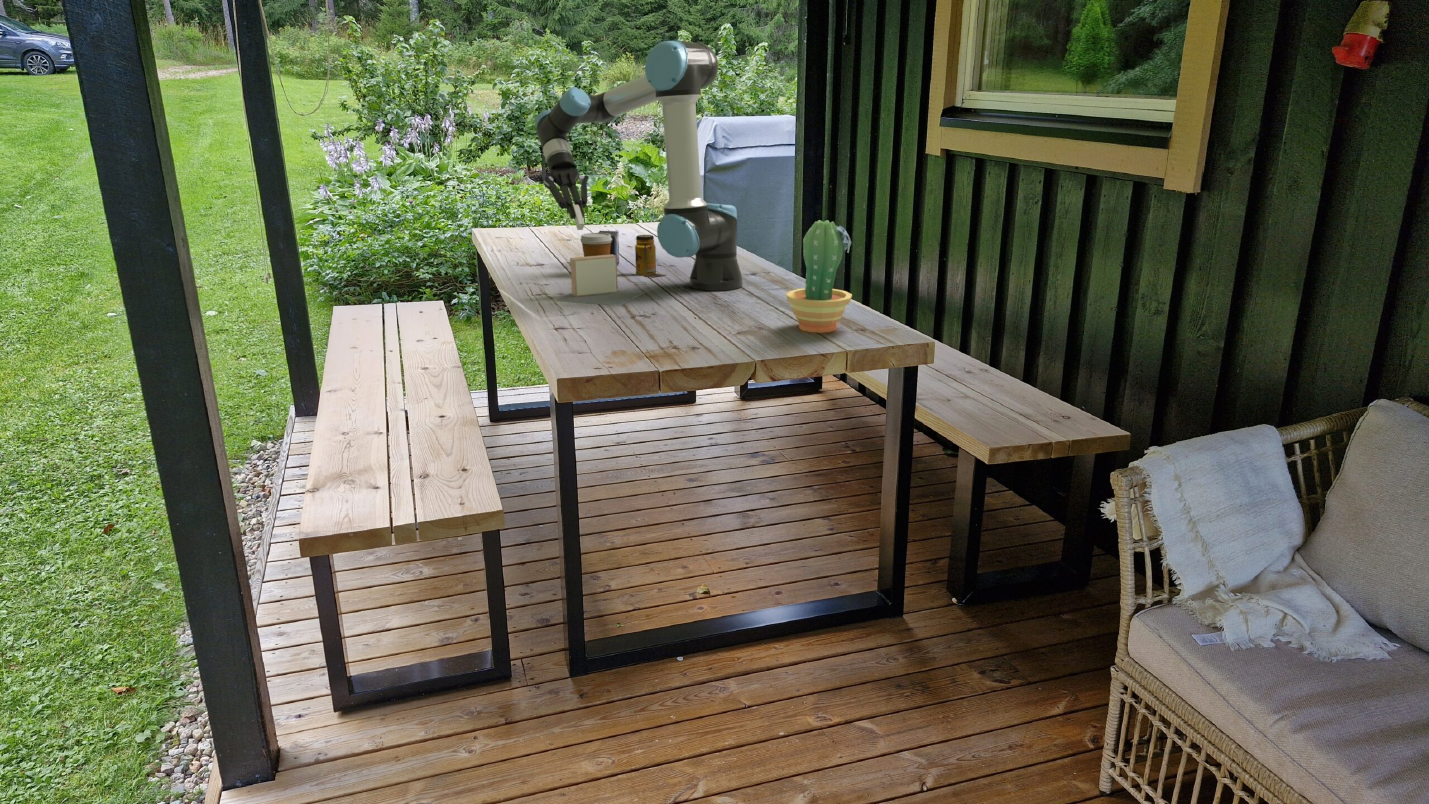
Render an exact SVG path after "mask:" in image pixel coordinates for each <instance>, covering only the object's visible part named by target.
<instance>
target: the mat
mask: <svg viewBox="0 0 1429 804" xmlns="http://www.w3.org/2000/svg"><path fill="white" fill-rule="evenodd" d="M646 293H647V292H646V291H633V290H632V291H631V290H619V289H618V293H610V294H600V295H590V296H581V297H575V296H573V295H572V292H571V293H568V294H566V295H564V296H562V297H559V298H557V299H555V300H554V302H566V303H577V304H578V303H580V304H590V305H591V304H592V305H604V306H614V307H616V306H617V307H618V306H619V307H622V306H624V305H625V304H628V303H629V302H631V301H632V300H635V299H637V298H638V297H641V296H642V295H644V294H646Z"/></svg>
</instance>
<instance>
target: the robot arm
mask: <svg viewBox="0 0 1429 804" xmlns="http://www.w3.org/2000/svg"><path fill="white" fill-rule="evenodd" d="M644 73H645V75H642V76H639V77H637V78H634V79H632V80H629V81H627V82H624V83H622V84H620V85H617V86H615V87H612V88H610V89H608V90H606V91H603V92H600V93H598V94H595V95H593V94H590V95H588V94H587V93H586V92H585V91H584V90H583V89H581V88H580V89H579V88H578V87H575V86H574V87H569V88H568V89H567V90H566V92H564V93H563V94H562V95H561V97H560V98H559V99H558V101H557V102H556V104H555V105H554V106H553V108H552V109H547V110H543V111H541V112H540V113H538V114H537V115H536V116H535V120H534V124H535V125H534V126H535V131H536V135H537V137H538V139H539V142H540V146H541V148H542V152H543V155H544V158H545V161H546V164H547V165H546V166H547V169H548V171H549V176H545V177H544V180H543V185H544V186H545V188H546V189H548V190H549V192H550V193H551V195H552V197H553V198H554V200H555V202H556V204H557V205H558V207H559V208H560V210H564V209H566V212H567V213H568V214H569V217H570V219H571V220H574V224H575V227H576V230H577V231H583V230H584V227H585V223H586V222H585V220H584V218H585V214H586V213H585V210H584V209H585V208H586V206H587V203H588V181H589V178H590V177H589V176H588V174H587V175H585V174H584V176H583V175H581V174H580V172H579V170H577V166H576V163H575V160H574V157H573V154H572V151H571V148H570V145H569V142H568V138H567V135H568V134H569V133H570V132H571V131H572V130H573V129H574V128H575V126H577V125H578V124H589V123H590V124H591V123H603V124H604V123H609V122H614V121H616V120H617V119H618V117H619V116H621V115H624V114H626V113H629V112H632V111H634V110H637V109H639V108H642V107H645V106H647V105H649V104H650V105H651V104H652V103H655V102H659V103H660V104H661V107H662V118H663V119H662V120H663V132H664V133H663V135H664V147H665V162H666V171H667V172H666V174H667V189H668V201H666V203H665V204H664V205H663V214H664V216H663V217H661V219H660V221H659V223H657V228H656V235H657V239H658V242H659V244H660V246H661V247H662V250H664V251H665V252H666V253H667V254H668V255H670V256H671V257H675V258H680V259H681V258H692V257H693V256H694V257H695V259H694V263H693V266H692V268H691V272H690V276H689V287H690V288H693V289H696V290H703V291H711V292H712V291H716V292H717V291H731V290H737V289H740V288H742V287H743V280H744V279H743V275H742V274H743V273H742V271H741V269H740V265H739V263H738V258H737V249H738V248H737V245H738V241H737V239H738V238H737V237H738V235H737V234H738V230H737V229H738V215H737V214H738V211H737V207H736V206H734V205H731V204H722V203H721V204H719V203H708V202H706V201H705V200H704V199H703V198H702V187H701V171H700V155H699V154H700V153H699V142H698V141H699V140H698V139H699V137H698V123H697V122H698V121H697V119H698V118H697V108H696V106H697V105H696V104H697V101H698V100H699V99H700V98H701V97H702V93H701V91H702V89H706V88H707V87H709V86H710V85H712V84H713V82H714V81H715V80H716V77H717V75H718V73H719V61H718V57H717V55H716V53H715V52H714V50H713V49H712V48H711V47H710V46H708V45H707V44H705V43H702V42H698V41H697V42H696V41H694V42H693V41H684V40H682V41H681V40H667V41H666V40H665V41H664V40H663V41H660V42H658V43H656V45H654V46H653V47H652V49H651V50H650V52H648V54H647V56H646V59H645V64H644ZM578 181H579V184H580V193H579V190H578V188H577V187H578V186H577V183H578ZM557 186H558V187H559V188H558V187H557Z"/></svg>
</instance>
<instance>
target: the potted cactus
mask: <svg viewBox="0 0 1429 804" xmlns="http://www.w3.org/2000/svg"><path fill="white" fill-rule="evenodd" d="M802 244H803V245H802V246H803V248H802V250H803V251H802V252H803V255H802V256H803V260H804V263H805V268H806V272H805V287H804V288H797V289H794V290H793V289H792V290H789V291H788V292H787V293H786V295H785V296H786V300H787V301H786V302H788V303H789V304H790V306H791V310H792V312H793V315H794V317H795V318H796V320H797V321H798V323H799V325H798V329H800V330H801V331H803V332H809V333H820V334H821V333H831V332H834V331H837V329H838V324H837V323H838V322H840V320H841V318H842V317H843V315H844V312H845V311H846V308H847V306H848V305H849V304H850V303H851V301H852V297H853V294H852V293H850V292H848V291H846V290H841V289H835V288H834V283H835V279H836V275H837V270H838V267H839V265H840V263H841V262H842V259H843V253H844V251H845V250H847V251H846V252H847V253H848V254H849V253H850V247H851V245H852V241H851V237H850V235H849V234H848V232H847V230H846V229H845V228H844V227H843V226H841V225H839V226H838V225H836V224H835V221H831V222H830V221H829V220H827V219H826V220H825V221H822V220H820V219H819V220H817V221H814V223H813V224H812V225H811V227H809V229H808V231H807V232H806V233H805V235H804V237H803V239H802Z"/></svg>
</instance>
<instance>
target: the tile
mask: <svg viewBox="0 0 1429 804" xmlns="http://www.w3.org/2000/svg"><path fill="white" fill-rule="evenodd" d="M569 260H570V261H569V262H570V264H569V265H570V278H571V279H570V280H571V281H570V282H571V293H572V295H573V296H575V297H581V296H590V295H600V294H610V293H618V290H619V288H618V265H617V258H616V256H615V255H613V254H611V255H600V256H588V257H584V256H579V257H569Z"/></svg>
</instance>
